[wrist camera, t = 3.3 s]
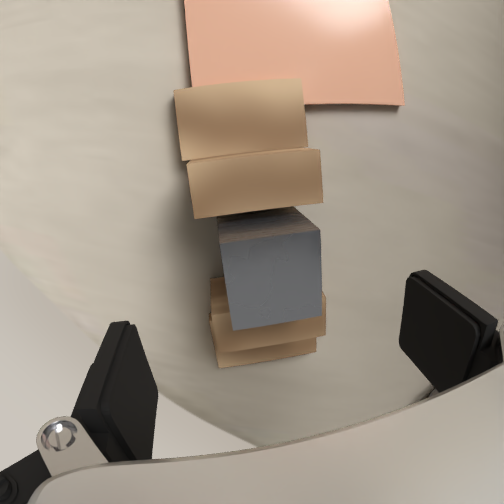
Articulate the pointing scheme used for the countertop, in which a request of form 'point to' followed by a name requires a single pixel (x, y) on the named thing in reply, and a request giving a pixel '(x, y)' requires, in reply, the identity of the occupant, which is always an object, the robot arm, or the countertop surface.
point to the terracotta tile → (298, 47)
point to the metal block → (270, 266)
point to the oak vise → (250, 189)
